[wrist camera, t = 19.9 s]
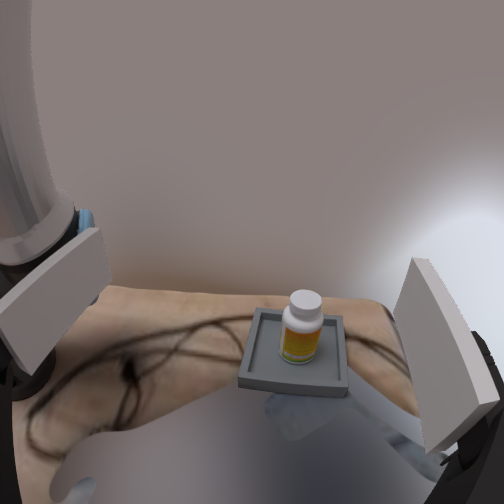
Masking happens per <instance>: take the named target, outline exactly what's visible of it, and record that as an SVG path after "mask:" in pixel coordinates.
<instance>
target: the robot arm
mask: <svg viewBox="0 0 504 504" xmlns="http://www.w3.org/2000/svg"><path fill="white" fill-rule="evenodd" d="M31 9H32V0H0V504H22V500H21V495H20V490H19V485H18V479H17V472H16V465H15V456H14V446H13V430H12V400H21V399H24V398H27V397H29V396H31V395H33V394H34V393H36V392H37V391H38V390H39V389H40V388H42V386H43V385H44V384H45V383H46V382H47V380H48V379H49V377H50V375H51V373H52V371H53V369H54V365H55V359H56V354H55V349H54V346H55V345H56V344H57V343H58V341H59V340H60V339H61V338H62V336H63V335H64V334H65V333H66V332H67V330H68V329H69V328H70V327H71V326H72V324H73V323H74V322H75V321H76V320H77V319H78V317H79V316H80V315H81V314H82V313H83V312H84V311H85V309H86V308H87V307H88V306H91V305H93V304H94V303H95V302H96V301H97V300H98V297H99V294H100V293H101V292H102V290H103V289H104V288H105V287H106V286H107V285H108V284H109V283H110V282H111V281H112V280H113V278H112V274H111V271H110V267H109V263H108V259H107V255H106V251H105V246H104V242H103V237H102V233H101V229H100V228H95V224H94V218H93V214H92V212H91V211H89V210H84V209H80V210H79V211H76V210H75V207H74V203H73V200H72V198H71V196H70V195H69V194H68V193H67V192H66V191H64V190H62V189H60V188H56V187H55V186H54V183H53V179H52V176H51V172H50V168H49V164H48V160H47V156H46V152H45V149H44V143H43V139H42V134H41V129H40V124H39V118H38V112H37V106H36V99H35V91H34V82H33V71H32V57H31ZM393 314H394V317H395V321H396V324H397V327H398V330H399V334H400V337H401V340H402V344H403V347H404V351H405V355H406V358H407V362H408V366H409V370H410V374H411V378H412V382H413V386H414V391H415V395H416V400H417V405H418V410H419V415H420V420H421V426H422V432H423V438H424V444H425V452H426V454H430V453H436V452H441V451H445V450H447V449H448V448H450V447H451V446H452V445H453V444H454V443H456V442H457V444H458V449H457V450H456V451H455V452H454V453H453V454H451V455H450V456H448V457H447V458H446V459H444V460H443V461H442V463H441V464H440V465H441V466H443V465H444V464H446V463H447V462H449V463H448V465H447V467H446V469H445V470H444V472H443V474H442V476H441V477H440V479H439V481H438V482H437V484H436V486H435V487H434V489H433V490H432V492H431V494H430V495H429V497H428V498H427V500H426V501H425V503H424V504H504V382H503V380H502V378H501V375H500V373H499V371H498V368H497V366H496V365H495V362H494V359H493V357H492V356H490V354H491V353H490V351H489V349H488V347H487V345H486V343H485V341H484V340H483V339H482V338H481V337H480V336H479V335H478V334H477V332H476V331H470V329H469V327H468V325H467V323H466V322H465V320H464V318H463V316H462V314H461V313H460V310H459V309H458V307H457V305H456V303H455V302H454V300H453V298H452V297H451V295H450V293H449V291H448V290H447V288H446V286H445V285H444V283H443V281H442V280H441V278H440V277H439V275H438V273H437V272H436V270H435V269H434V267H433V266H432V265H431V263H430V261H429V260H428V259H422V258H413V257H412V259H411V263H410V266H409V269H408V272H407V275H406V278H405V281H404V284H403V287H402V290H401V293H400V296H399V298H398V301H397V304H396V306H395V309H394V312H393Z"/></svg>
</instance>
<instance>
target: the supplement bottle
mask: <svg viewBox="0 0 504 504" xmlns="http://www.w3.org/2000/svg"><path fill="white" fill-rule="evenodd" d="M321 305H322V299H321V297H320V296H319V295H318V294H317V293H315V292H313V291H310V290H298V291H295V292H294V293H293V294H292V295H291V296H290V302H289V305H288V306H287V307H286V308H285V310H284V312H283V315H282V323H281V331H280V339H279V354H280V356H281V357H282V358H283V359H284V360H285V361H287V362H289V363H292V364H305V363H307V362H309V361H311V360H312V359H313V357H314V356H315V353H316V350H317V345H318V341H319V337H320V333H321V329H322V325H323V320H324V316H323V313H322V311H321Z"/></svg>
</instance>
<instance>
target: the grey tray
mask: <svg viewBox="0 0 504 504" xmlns="http://www.w3.org/2000/svg"><path fill="white" fill-rule="evenodd" d="M283 312H284V311H282V310H273V309H264V308H256V309H255V313H254V317H253V321H252V325H251V329H250V332H249V336H248V340H247V344H246V348H245V352H244V356H243V359H242V363H241V367H240V371H239V374H238V387H240V388H246V389H253V390H260V391H268V392H276V393H285V394H295V395H307V396H322V397H344V396H345V394H346V392H347V390H348V388H349V384H348V369H347V357H346V346H345V336H344V326H343V318H342V316H336V315H324V314H323V316H324V320H323V325H322V329H321V333H320V337H319V341H318V345H317V350H316V353H315V356H314V357H313V359H312V360H311V361H309V362H307V363H305V364H292V363H289V362H287V361H285V360H284V359H283V358H282V357H281V356H280V354H279V339H280V331H281V323H282V315H283Z"/></svg>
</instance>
